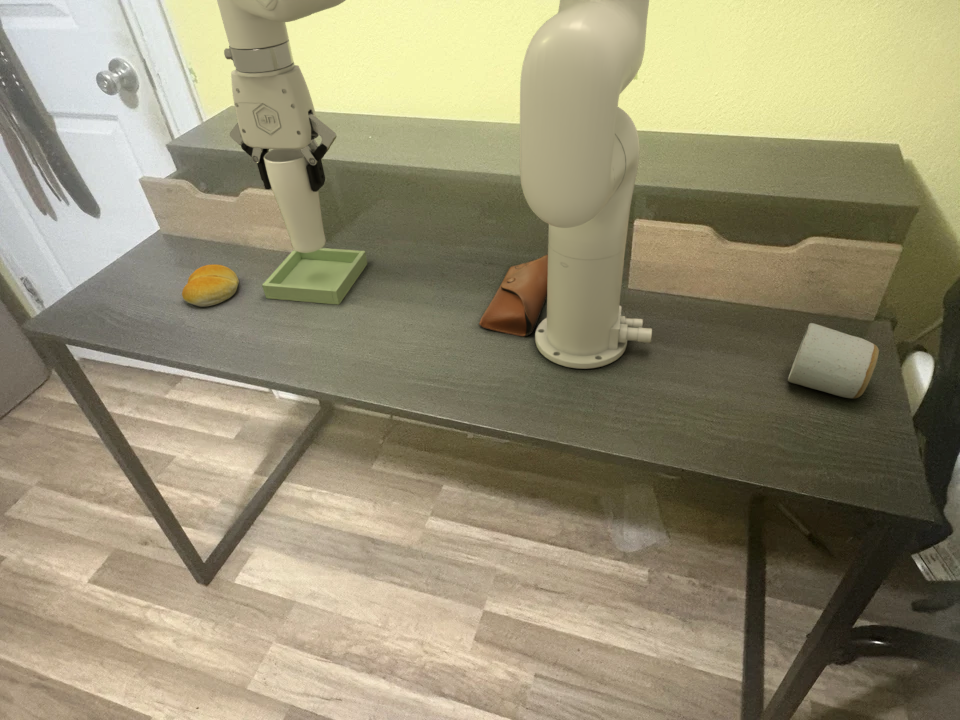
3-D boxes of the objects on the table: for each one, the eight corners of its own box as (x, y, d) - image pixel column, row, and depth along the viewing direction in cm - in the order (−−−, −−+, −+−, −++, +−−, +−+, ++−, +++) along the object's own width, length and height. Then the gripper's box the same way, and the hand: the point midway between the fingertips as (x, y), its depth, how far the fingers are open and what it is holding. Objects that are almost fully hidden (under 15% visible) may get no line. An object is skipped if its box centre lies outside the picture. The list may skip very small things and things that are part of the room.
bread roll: (179, 311, 99) (170, 289, 97) (196, 280, 106) (188, 260, 104) (232, 307, 100) (224, 285, 97) (245, 277, 106) (238, 256, 104)
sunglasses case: (508, 264, 104) (528, 234, 100) (543, 286, 105) (565, 258, 100) (476, 327, 91) (497, 296, 86) (517, 352, 92) (540, 323, 87)
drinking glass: (321, 258, 97) (298, 163, 88) (280, 255, 98) (254, 162, 89) (337, 237, 102) (317, 145, 93) (299, 235, 104) (275, 144, 94)
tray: (367, 263, 108) (365, 250, 106) (339, 304, 98) (336, 291, 97) (300, 258, 110) (296, 246, 109) (265, 298, 101) (261, 285, 99)
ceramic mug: (857, 414, 74) (880, 362, 70) (783, 393, 78) (800, 343, 73) (865, 363, 81) (886, 314, 77) (797, 346, 85) (813, 298, 80)
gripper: (188, 65, 82) (230, 194, 93) (312, 66, 78) (339, 200, 90) (219, 50, 88) (254, 174, 99) (335, 50, 84) (358, 179, 95)
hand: (295, 185), depth 94 cm, fingers closed on drinking glass, 6 cm apart
